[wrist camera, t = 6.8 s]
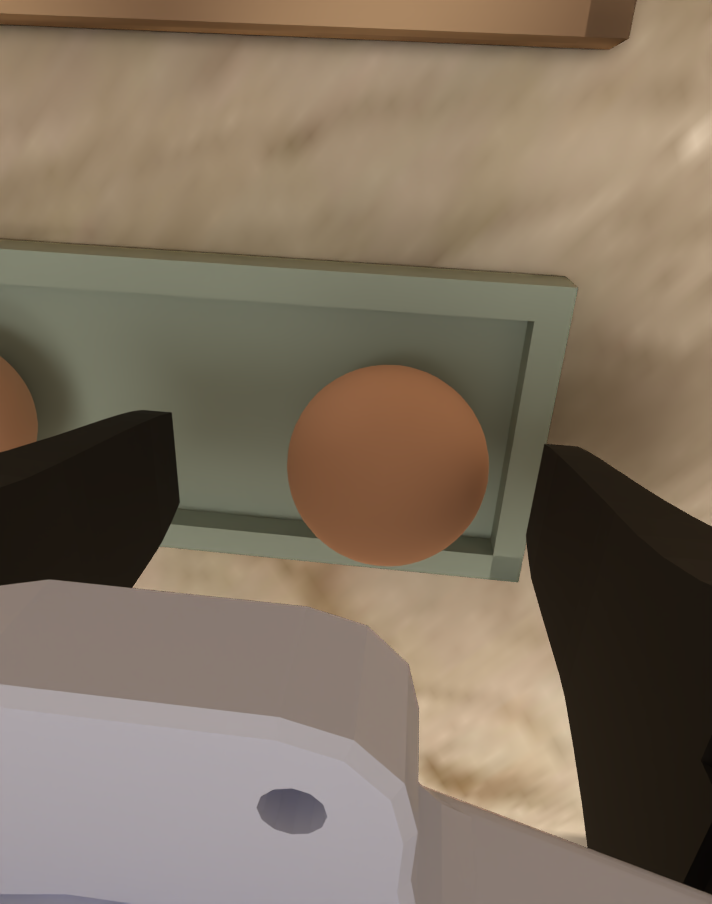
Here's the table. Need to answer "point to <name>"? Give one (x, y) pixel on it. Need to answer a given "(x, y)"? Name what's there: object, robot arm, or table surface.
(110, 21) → the trough walnut
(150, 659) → the robot arm
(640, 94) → the table surface
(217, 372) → the trough green
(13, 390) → the terracotta ball
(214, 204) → the table surface
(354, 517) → the terracotta ball
